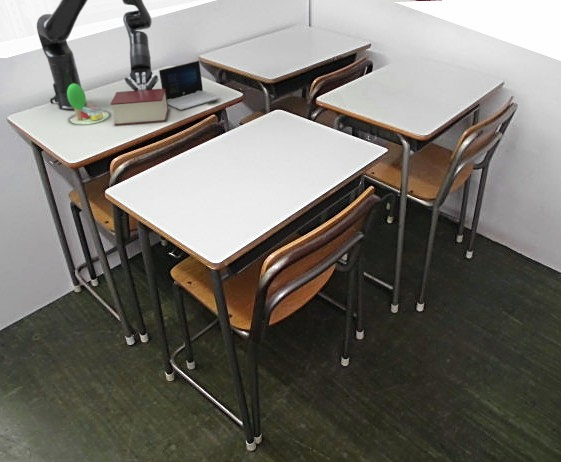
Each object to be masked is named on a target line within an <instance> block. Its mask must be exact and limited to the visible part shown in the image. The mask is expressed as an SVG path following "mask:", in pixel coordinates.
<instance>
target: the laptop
mask: <svg viewBox="0 0 561 462" xmlns="http://www.w3.org/2000/svg"><path fill="white" fill-rule="evenodd" d="M200 64H201V63H200V60H195V61H194V60H193V61H191V62H187V63H183V64H179V65H175V66H171V67H170V66H169V67H167V68H162V69H159V70H158V73H159V79H160V80H159V81H160V83H161V89H165V90H166V96H167V102H168V106H170V107H172V108H175V109H178V110H180V111H183V110H187V109H190V108H194V107H197V106H200V105H203V104H207V103H210V102H215V101H217V100H219V99H220V97H219V96H217V95H215V94H213V93H210V92H207V91H204V87H203V80H202V73H201V72H202V71H201V65H200Z"/></svg>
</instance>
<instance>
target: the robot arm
mask: <svg viewBox="0 0 561 462" xmlns="http://www.w3.org/2000/svg"><path fill="white" fill-rule="evenodd" d="M121 1H122V3H123V4H124V5H126V6H134V7H135V8H136V9H137V10H133V11H126V12H125V13H124V15H123V16H122V21H123V25H124V26H125V29H126V32H127V35H128V39H129V62H130V73H129V76H128V77H124V81H125V83H126V84H127V85H128V86H129V87H130V88H131V90H132V91H138V90H151V89H154V88H155V86H156V85H157V83H158V82H159V81H160V80H159V79H160V78H159V76H158V75H157V74H154V73H153V71H152V63H151V52H150V46H149V37H148V34H147V33H145V32H144V31H142V30H147V29H150V28H151V26H152V23H153V21H152V16H151V14H150V12H149V10H148V9H147V7H146V6H145V3H144V2H143V0H121ZM87 2H88V0H60V2H59V3H58V5H57V7H56V8H55V10H54V11H53V13H45V14H42V15H41V16H39V18H38V19H37V21H36V31H37V36H38V38H39V42H40V44H41V45H40V46H41V48H42V51H43V53H44V55H45V57H46V59H47V61H48V66H49V70H50V73H51V77H52V80H53V83H52V87H53V90H54V96H53V97H51V98H50V99H49V102H50V104H53V103H57V104H58V108H59V109H60V110H74V107H73V106H72V105H71V104H70V102H69V100H68V97H67V90H68V87H69V86H70V85H71V84H78V85H79V86H80V87H81V88H82V89H83V87H82V84H81V79H80V75H79V71H78V67H77V63H76V60H75V56H74V52H73V50H72V49H71V48H70V46H69V44H68V42H67V40H68V39H69V37H70V35H71V33H72V31H73V28H74V27H75V24H76V22H77V19H78V17H79V15H80V14H81V12H82V10H83V9H84V7H85V6H86V4H87ZM133 82H134V83H135V84H136V85H137V86H136V85H135V84H134V83H133ZM86 104H87V101H86V102H85V105H86Z"/></svg>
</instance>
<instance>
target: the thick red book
mask: <svg viewBox="0 0 561 462" xmlns="http://www.w3.org/2000/svg"><path fill="white" fill-rule="evenodd" d="M110 106H111V109H112V113H113V117H114V121H115V122H114V123H115V124H114V126H125V125H138V124H150V123H151V124H152V123H162V122H164V123H165V122H166V121H167V117H168V113H169V105H168V102H167V96H166V90H165V89H162V88H153V89H151V90H143V89H142V90H138V91H134V90H126V91H116V92H115V94H114V96H113V98H112V100H111V102H110Z"/></svg>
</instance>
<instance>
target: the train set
mask: <svg viewBox="0 0 561 462" xmlns="http://www.w3.org/2000/svg"><path fill="white" fill-rule="evenodd" d="M81 87H82V86H81ZM81 87H80V86H79V85H78V84H71V85H70V86H69V87H68V90H67V97H68V100H69V102H70V104H71V105H72V106H73V107H74V109H73V110H74V113H75V116H74V118H73V117H70V119H69V121H70V123H73V124H74V125H75V124H76V125H93V124H97V123H100V122H103V121H104V120H106V119H108V118H109V116H110V114H109V112H108V111H107V112H106V111H104V110H102V107H98V106H97V105H94V106H93V104H92V102H90V101H87V98H86V94H85V91H84V89H83V87H82V88H81ZM85 102H86V104H87V105H88V106H89V107H86V106H85V105H86V104H85Z"/></svg>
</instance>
